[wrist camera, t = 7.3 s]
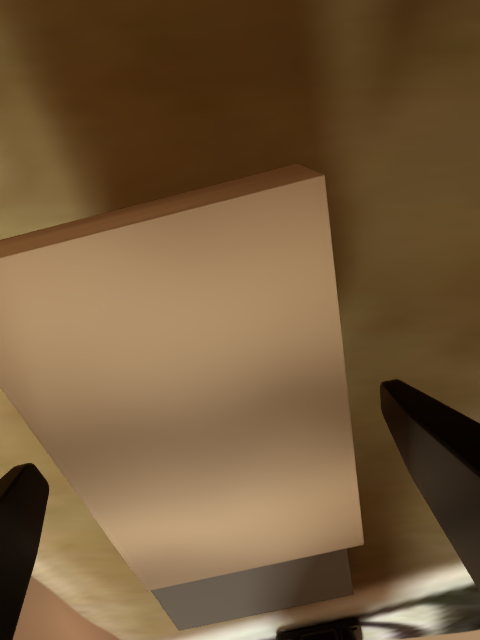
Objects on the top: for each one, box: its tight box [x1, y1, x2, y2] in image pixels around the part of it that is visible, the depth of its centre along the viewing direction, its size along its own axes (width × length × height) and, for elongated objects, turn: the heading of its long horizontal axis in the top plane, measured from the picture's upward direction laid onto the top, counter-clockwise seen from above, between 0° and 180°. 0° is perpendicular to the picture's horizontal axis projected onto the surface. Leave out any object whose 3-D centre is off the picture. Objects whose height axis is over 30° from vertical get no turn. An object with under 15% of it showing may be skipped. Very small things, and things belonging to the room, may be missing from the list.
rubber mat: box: [151, 548, 353, 631], centre depth 21 cm, size 14×12×1 cm
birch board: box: [0, 163, 364, 591], centre depth 10 cm, size 11×7×2 cm, turn 13°
